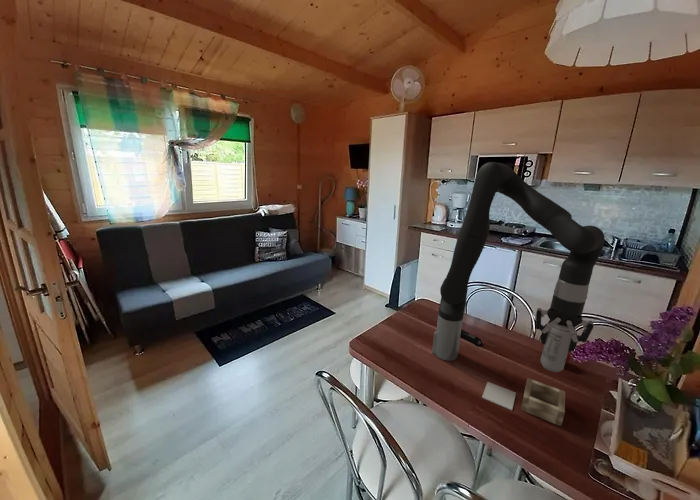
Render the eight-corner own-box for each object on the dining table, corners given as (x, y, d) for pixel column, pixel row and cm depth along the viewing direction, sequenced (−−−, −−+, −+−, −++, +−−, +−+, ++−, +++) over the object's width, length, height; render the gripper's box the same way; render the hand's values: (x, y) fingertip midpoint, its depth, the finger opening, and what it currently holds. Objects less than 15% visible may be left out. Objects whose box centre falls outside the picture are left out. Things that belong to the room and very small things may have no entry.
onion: (570, 369, 115) (575, 351, 113) (554, 367, 116) (558, 349, 114) (563, 360, 120) (568, 342, 118) (547, 358, 121) (551, 340, 119)
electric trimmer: (452, 328, 142) (453, 322, 141) (482, 344, 130) (483, 338, 129) (447, 331, 140) (448, 324, 139) (477, 347, 128) (478, 340, 127)
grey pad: (481, 397, 100) (481, 396, 100) (487, 382, 107) (487, 381, 107) (511, 410, 95) (512, 409, 95) (515, 393, 102) (516, 392, 102)
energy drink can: (567, 374, 89) (580, 329, 85) (546, 372, 90) (558, 328, 85) (555, 361, 95) (566, 318, 91) (535, 360, 95) (545, 317, 91)
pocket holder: (520, 409, 95) (523, 396, 94) (524, 390, 104) (527, 377, 102) (561, 426, 90) (564, 412, 88) (561, 404, 98) (565, 391, 97)
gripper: (600, 298, 85) (585, 349, 90) (541, 285, 93) (530, 333, 97) (603, 307, 79) (586, 362, 84) (539, 293, 87) (527, 344, 91)
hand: (556, 346), depth 90 cm, fingers closed on energy drink can, 6 cm apart
